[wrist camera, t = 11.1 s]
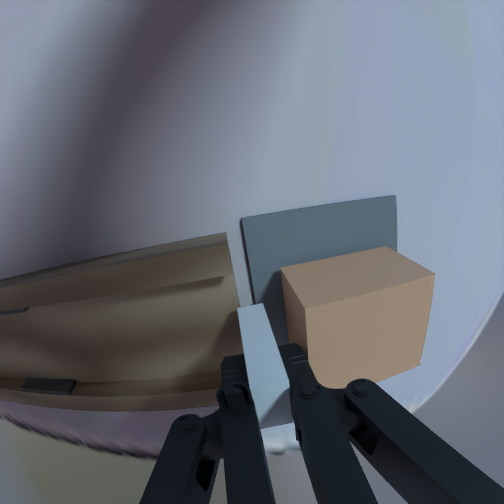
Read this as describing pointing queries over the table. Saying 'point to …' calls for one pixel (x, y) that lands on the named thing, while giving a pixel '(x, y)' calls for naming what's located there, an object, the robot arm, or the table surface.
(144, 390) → the chute
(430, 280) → the block
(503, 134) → the table surface
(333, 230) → the mat
